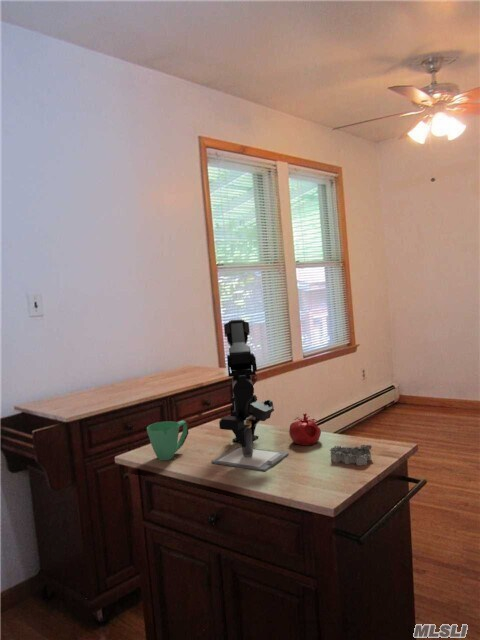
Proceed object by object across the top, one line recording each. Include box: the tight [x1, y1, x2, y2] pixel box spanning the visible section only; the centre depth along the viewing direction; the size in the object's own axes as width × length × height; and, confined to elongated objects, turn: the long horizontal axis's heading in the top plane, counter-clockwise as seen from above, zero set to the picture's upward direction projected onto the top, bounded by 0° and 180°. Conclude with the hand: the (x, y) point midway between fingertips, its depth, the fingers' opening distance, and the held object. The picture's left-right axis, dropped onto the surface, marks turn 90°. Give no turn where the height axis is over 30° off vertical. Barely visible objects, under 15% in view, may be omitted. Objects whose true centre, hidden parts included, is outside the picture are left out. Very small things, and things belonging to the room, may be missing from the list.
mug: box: [146, 420, 189, 461], centre depth 153 cm, size 15×10×10 cm
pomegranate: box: [288, 412, 322, 446], centre depth 156 cm, size 10×10×9 cm
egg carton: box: [329, 444, 373, 467], centre depth 138 cm, size 11×8×4 cm
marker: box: [241, 420, 254, 457], centre depth 145 cm, size 3×3×10 cm
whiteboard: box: [211, 445, 290, 472], centre depth 145 cm, size 14×18×2 cm
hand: (247, 445), depth 145 cm, fingers closed on marker, 3 cm apart
